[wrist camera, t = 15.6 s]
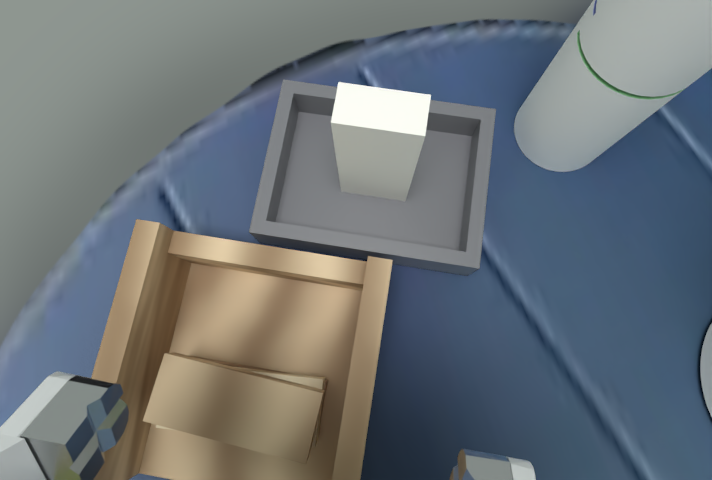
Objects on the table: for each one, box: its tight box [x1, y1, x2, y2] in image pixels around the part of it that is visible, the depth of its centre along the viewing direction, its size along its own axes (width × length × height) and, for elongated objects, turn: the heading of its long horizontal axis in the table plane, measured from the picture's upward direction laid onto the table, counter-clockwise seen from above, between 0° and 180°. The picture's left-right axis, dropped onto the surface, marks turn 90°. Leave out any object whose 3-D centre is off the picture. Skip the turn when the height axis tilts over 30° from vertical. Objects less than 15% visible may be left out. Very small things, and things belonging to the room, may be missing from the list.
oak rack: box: [91, 219, 393, 480], centre depth 28 cm, size 16×16×7 cm
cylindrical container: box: [514, 0, 712, 172], centre depth 23 cm, size 7×7×25 cm
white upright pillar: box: [331, 82, 431, 201], centre depth 28 cm, size 5×2×11 cm, turn 81°
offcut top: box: [143, 352, 325, 464], centre depth 26 cm, size 10×4×2 cm, turn 77°
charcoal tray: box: [249, 80, 496, 276], centre depth 33 cm, size 16×12×4 cm
